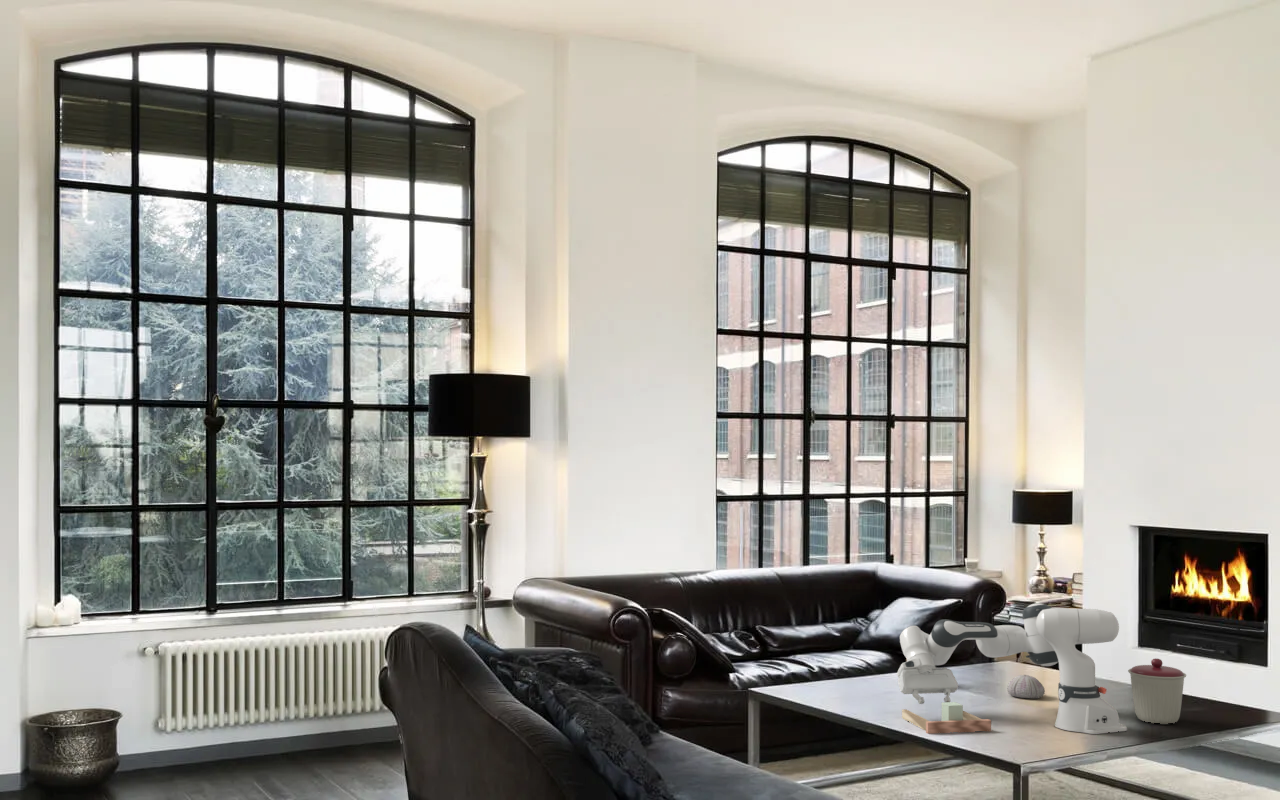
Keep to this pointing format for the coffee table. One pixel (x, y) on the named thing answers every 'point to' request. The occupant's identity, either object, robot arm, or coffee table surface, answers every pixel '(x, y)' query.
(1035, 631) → the robot arm
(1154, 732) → the coffee table surface
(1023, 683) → the sea urchin shell
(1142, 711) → the canister
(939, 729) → the bay
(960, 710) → the pale green block
